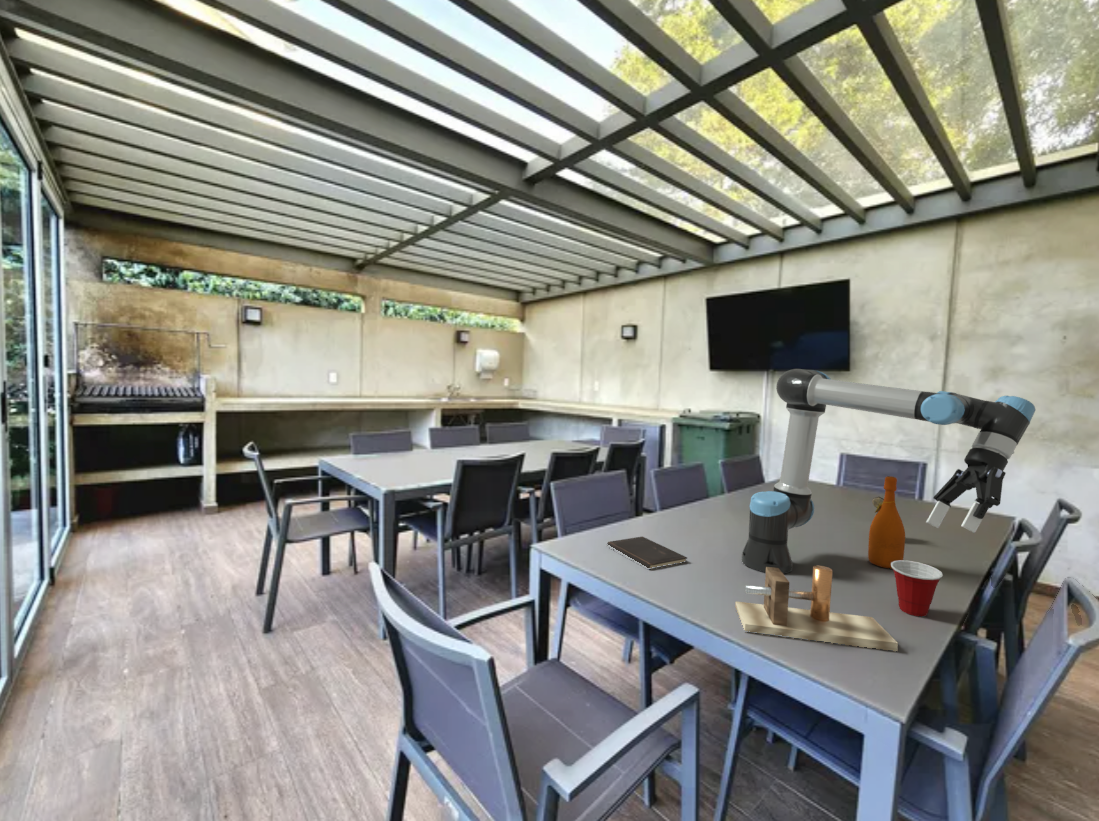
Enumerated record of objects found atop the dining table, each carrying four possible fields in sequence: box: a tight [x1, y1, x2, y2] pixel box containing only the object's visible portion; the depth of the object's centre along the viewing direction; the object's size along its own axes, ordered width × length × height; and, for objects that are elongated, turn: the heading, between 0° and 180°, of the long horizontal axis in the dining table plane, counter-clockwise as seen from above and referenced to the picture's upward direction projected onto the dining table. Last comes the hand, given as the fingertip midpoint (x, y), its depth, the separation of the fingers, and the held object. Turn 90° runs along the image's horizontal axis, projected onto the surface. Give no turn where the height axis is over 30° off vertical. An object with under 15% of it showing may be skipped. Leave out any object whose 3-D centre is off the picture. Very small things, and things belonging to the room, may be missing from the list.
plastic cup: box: [891, 559, 944, 618], centre depth 124 cm, size 11×11×12 cm
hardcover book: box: [606, 536, 688, 568], centre depth 160 cm, size 16×23×2 cm
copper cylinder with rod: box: [744, 564, 833, 622], centre depth 114 cm, size 19×4×12 cm, turn 79°
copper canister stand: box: [734, 567, 899, 652], centre depth 113 cm, size 32×12×12 cm, turn 79°
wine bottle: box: [867, 475, 906, 570], centre depth 157 cm, size 10×10×30 cm
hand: (948, 527), depth 116 cm, fingers open, 13 cm apart
